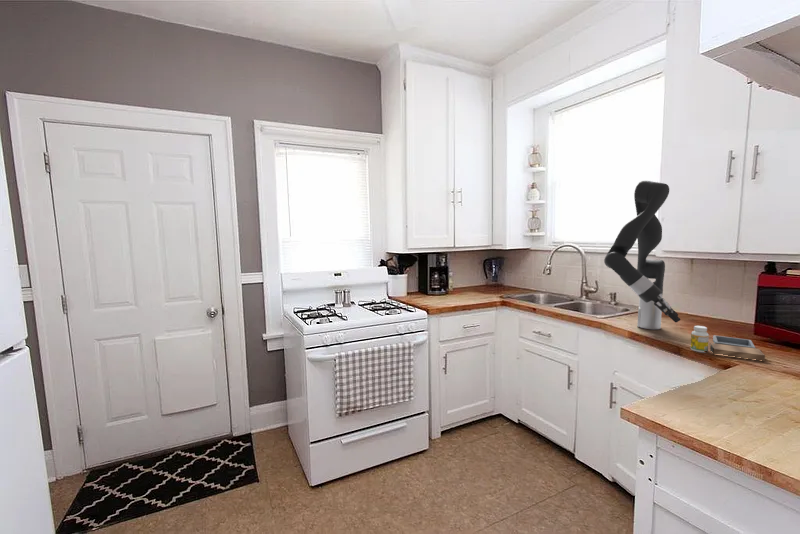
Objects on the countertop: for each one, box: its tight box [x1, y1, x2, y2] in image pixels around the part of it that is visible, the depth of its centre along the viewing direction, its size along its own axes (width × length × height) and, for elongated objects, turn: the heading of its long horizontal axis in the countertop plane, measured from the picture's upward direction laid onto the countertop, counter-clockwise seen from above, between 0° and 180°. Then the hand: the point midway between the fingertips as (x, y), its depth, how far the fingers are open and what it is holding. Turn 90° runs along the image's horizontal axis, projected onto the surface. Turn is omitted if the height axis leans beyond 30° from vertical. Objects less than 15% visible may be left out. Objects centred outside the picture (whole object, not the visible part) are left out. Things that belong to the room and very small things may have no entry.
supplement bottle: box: [690, 325, 710, 353], centre depth 143 cm, size 5×5×10 cm
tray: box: [712, 334, 756, 348], centre depth 146 cm, size 12×12×2 cm
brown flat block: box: [709, 342, 766, 362], centre depth 138 cm, size 14×8×2 cm, turn 57°
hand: (677, 318), depth 146 cm, fingers open, 8 cm apart
